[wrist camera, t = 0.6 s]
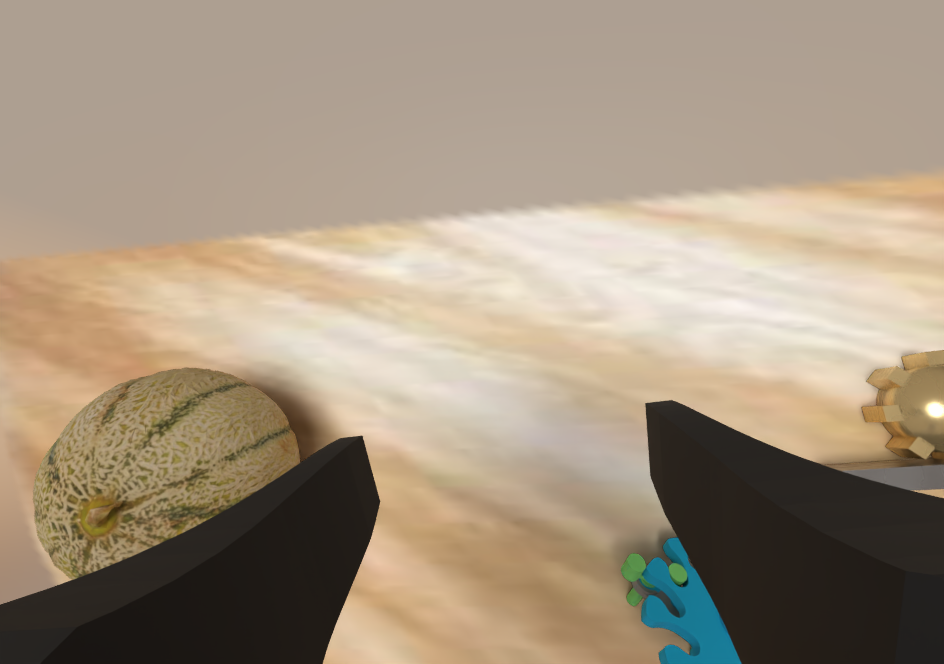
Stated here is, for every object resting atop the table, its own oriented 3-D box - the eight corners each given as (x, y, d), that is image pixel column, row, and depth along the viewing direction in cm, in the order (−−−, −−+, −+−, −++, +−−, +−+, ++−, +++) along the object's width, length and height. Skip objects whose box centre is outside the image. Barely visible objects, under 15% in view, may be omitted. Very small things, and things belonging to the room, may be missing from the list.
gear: (859, 605, 24) (853, 819, 17) (799, 643, 28) (776, 832, 21) (662, 487, 29) (599, 619, 22) (633, 532, 32) (572, 657, 26)
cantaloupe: (199, 380, 40) (-15, 359, 26) (341, 374, 37) (184, 346, 22) (179, 554, 37) (-75, 638, 23) (332, 566, 34) (144, 675, 19)
